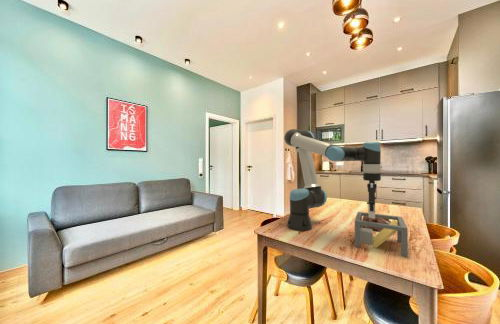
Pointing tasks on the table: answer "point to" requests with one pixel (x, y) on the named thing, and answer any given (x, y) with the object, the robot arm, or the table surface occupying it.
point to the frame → (401, 233)
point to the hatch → (384, 235)
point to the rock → (376, 220)
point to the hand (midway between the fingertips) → (372, 214)
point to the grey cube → (366, 236)
